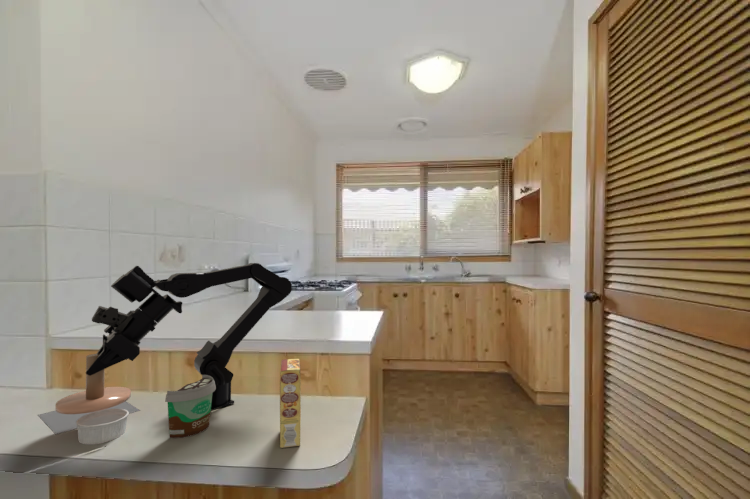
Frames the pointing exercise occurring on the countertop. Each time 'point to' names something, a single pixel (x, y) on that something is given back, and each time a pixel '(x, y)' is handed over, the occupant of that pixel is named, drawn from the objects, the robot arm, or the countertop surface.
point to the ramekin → (102, 426)
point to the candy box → (290, 403)
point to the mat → (74, 418)
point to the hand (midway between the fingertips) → (87, 372)
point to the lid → (93, 394)
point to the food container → (190, 408)
